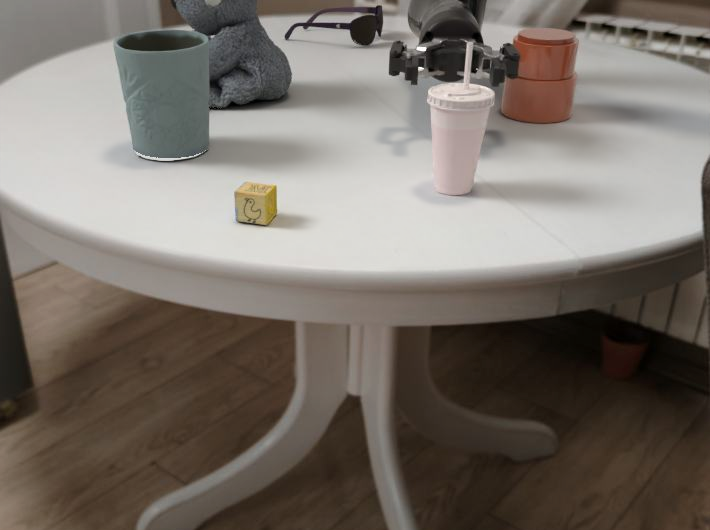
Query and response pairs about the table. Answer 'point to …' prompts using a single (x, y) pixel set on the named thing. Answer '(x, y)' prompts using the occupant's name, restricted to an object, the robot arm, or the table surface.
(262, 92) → the koala plush
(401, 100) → the table surface
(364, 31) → the sunglasses
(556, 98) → the upturned cup
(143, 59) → the green embossed cup
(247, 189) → the alphabet block
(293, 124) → the table surface
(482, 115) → the smoothie
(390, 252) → the table surface
